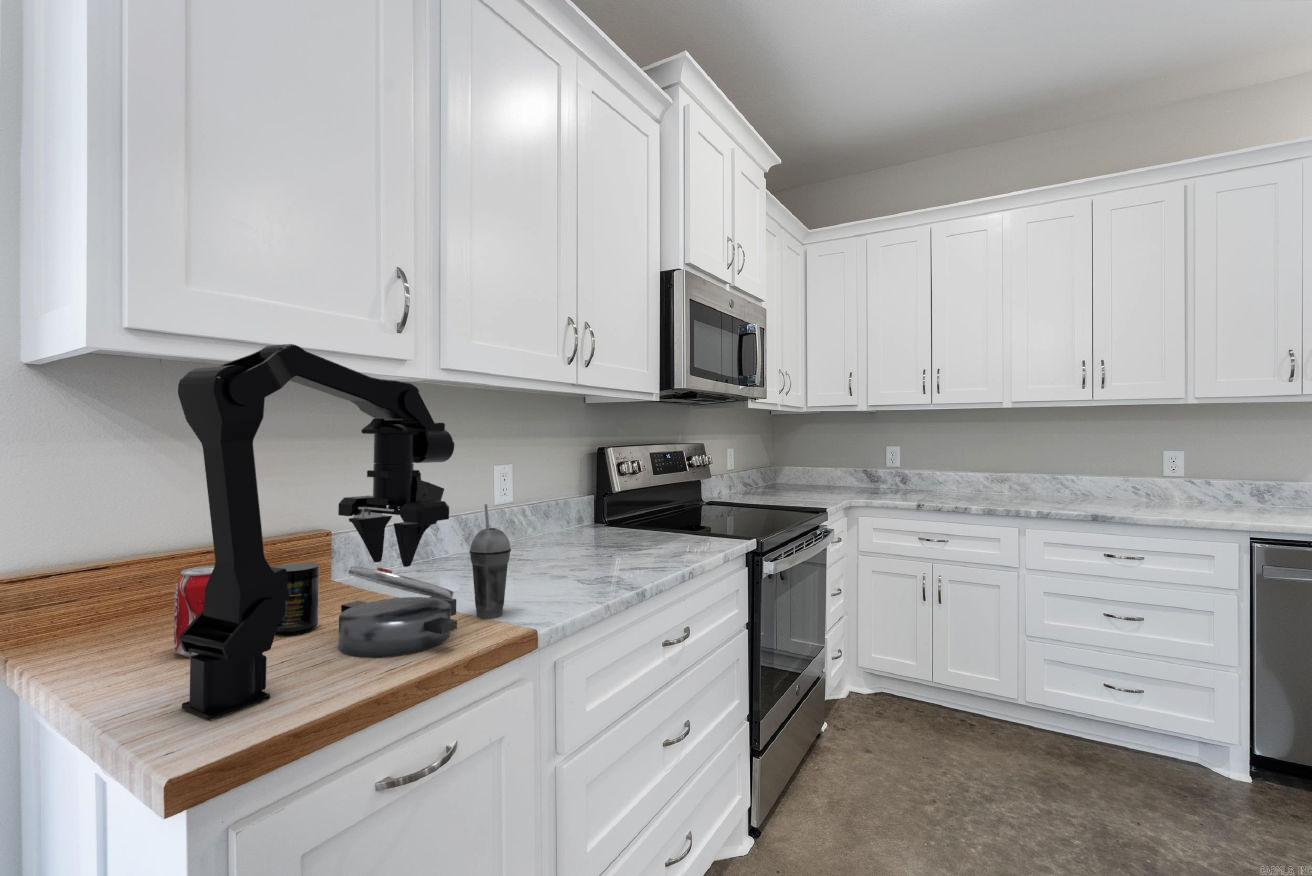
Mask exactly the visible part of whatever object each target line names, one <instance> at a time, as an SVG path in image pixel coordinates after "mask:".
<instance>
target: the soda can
mask: <svg viewBox="0 0 1312 876" xmlns="http://www.w3.org/2000/svg"><path fill="white" fill-rule="evenodd" d="M214 567H215V565H206V566H204V565H203V566H202V565H201V566H196V567H191V568H187V569H183V570H182V571H181V570H180V577H179V578H178V580H177V582H176V583H175V587H174V602H173V603H174V605H173V611H174V612H173V641H174V642H173V643H174V651H175V653H177V654H179V655H182V656H183V657H185V658H190V657H191V656H195V655H198V654H196V653H192V652H184V650H183V648H182V646H181V643H180V641H179V636H180V635H181V634H182V632H183V631H184V630H185V629H186V628H187V627H188V626H189V625H190V624H191V622H192V621H193V620H194V619H195V618H196V617H197V616H198V615H199V614H200V612H201V611H202V610H203V608H204V596H205V587H206V584H207V582H208V580H209V578H210V576H211V573H212V571H213V569H214ZM231 634H232V633H231Z"/></svg>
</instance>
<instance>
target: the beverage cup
mask: <svg viewBox="0 0 1312 876" xmlns="http://www.w3.org/2000/svg"><path fill="white" fill-rule="evenodd" d="M488 509H489V507H488V503H485V504H484V517H485V527H486V528H483V529H480V530H479V532H478V533H476V534H475V535H474V537H473V539H472V541H471V544H470V549H469V552H468V553H470V555H469V556H470V562H471V565H472V577H473V578H472V579H473V592H474V604H475V611H476V617H477V618H479V619H483V620H484V619H485V620H487V619H489V620H490V619H496V618H499V617H501V616H503V615H504V614H503V611H504V605H505V596H506V595H505V594H506V585H507V577H508V576H507V575H508V564H509V562H510V561H509V560H510V555H511V552H512V549H511V543H510V542H511V541H510V540H509V537H508V536H507V534H506V533H505V532H504V531H503V530H501V529H499V528H497V527H496V528H494V527H490V522H489V510H488Z"/></svg>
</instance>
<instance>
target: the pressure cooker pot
mask: <svg viewBox="0 0 1312 876" xmlns="http://www.w3.org/2000/svg"><path fill="white" fill-rule="evenodd" d="M340 606H341V607H340V612H341V613H340V614H339V616H338V650H339V652H341V653H342V654H345V655H347V656H349V657H350V656H351V657H355V658H365V659H366V658H367V659H368V658H369V659H378V658H379V659H380V658H381V659H382V658H394V657H395V658H396V657H402V656H407V655H412V654H417V653H419V652H420V653H421V652H424V651H428V650H430V649H433V648H436V647H438V646H440V645H442V644H444V643H445V642H446V641H448V640H449V638H450V636H451V632H452V631H454V630H458V620H457V619H452V618H451V617H454V616H456V615H457V598H452V599H443V598H437V597H432V596H427V597H423V596H418V597H417V596H407V597H406V596H405V597H404V596H403V597H394V598H393V597H392V598H385V599H379V600H373V601H369V602H367V601H362V600H355V601H352V602H351V601H350V602H347V603H344V604H341V605H340ZM443 642H444V643H443Z"/></svg>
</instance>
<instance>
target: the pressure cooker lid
mask: <svg viewBox="0 0 1312 876" xmlns="http://www.w3.org/2000/svg"><path fill="white" fill-rule="evenodd" d="M347 574H348V575H350V576H352V577H355V578H358V579H361V580H364V581H368V582H370V583H375V584H376V585H377V584H378V585H382V586H385V587H389V588H393V589H396V590H401V591H405V592H409V593H414V594H418V595H423V596H427V597H437V598H443V599H453V597H454V594H455V592H454V591H452V590H451V589H448V588H446V587H443V586H439V585H437V584H433V583H430V582H426V581H423V580H419V579H415V578H412V577H408V576H404V575H399V574H395V573H393V571H392V570H390V569H387V568H382V567H376V569H375V568H368V567H362V566H353V565H352V566H350V567H349V569H348V572H347Z"/></svg>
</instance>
